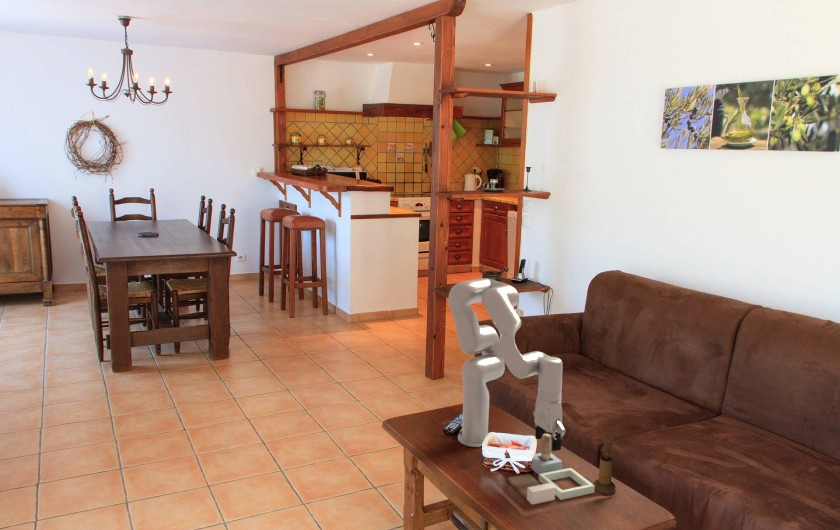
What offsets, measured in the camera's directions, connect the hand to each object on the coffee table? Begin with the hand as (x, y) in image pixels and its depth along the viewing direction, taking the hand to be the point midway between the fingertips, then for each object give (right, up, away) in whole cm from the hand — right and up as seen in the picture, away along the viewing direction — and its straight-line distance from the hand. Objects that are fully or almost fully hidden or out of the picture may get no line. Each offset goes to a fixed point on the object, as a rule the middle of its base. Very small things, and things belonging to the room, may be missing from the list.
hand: (547, 444), depth 212 cm
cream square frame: (+4, -12, -9) cm, 15 cm away
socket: (-1, -10, +2) cm, 10 cm away
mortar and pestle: (+16, -13, -9) cm, 22 cm away
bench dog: (-6, -13, -17) cm, 22 cm away
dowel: (-1, -9, +2) cm, 9 cm away
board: (-8, -12, -10) cm, 18 cm away
